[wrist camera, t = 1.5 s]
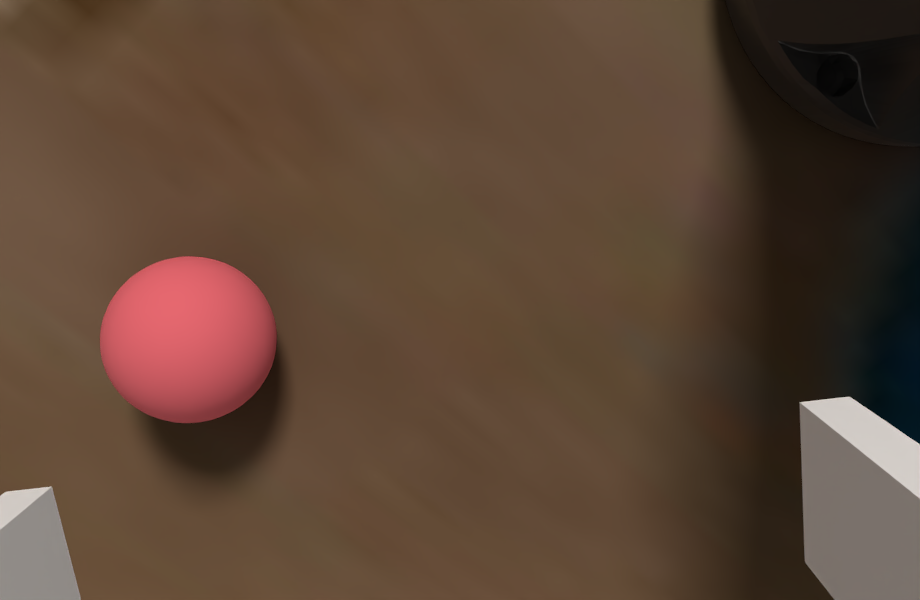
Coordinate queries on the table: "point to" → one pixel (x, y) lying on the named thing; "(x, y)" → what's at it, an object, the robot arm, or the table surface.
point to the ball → (188, 339)
